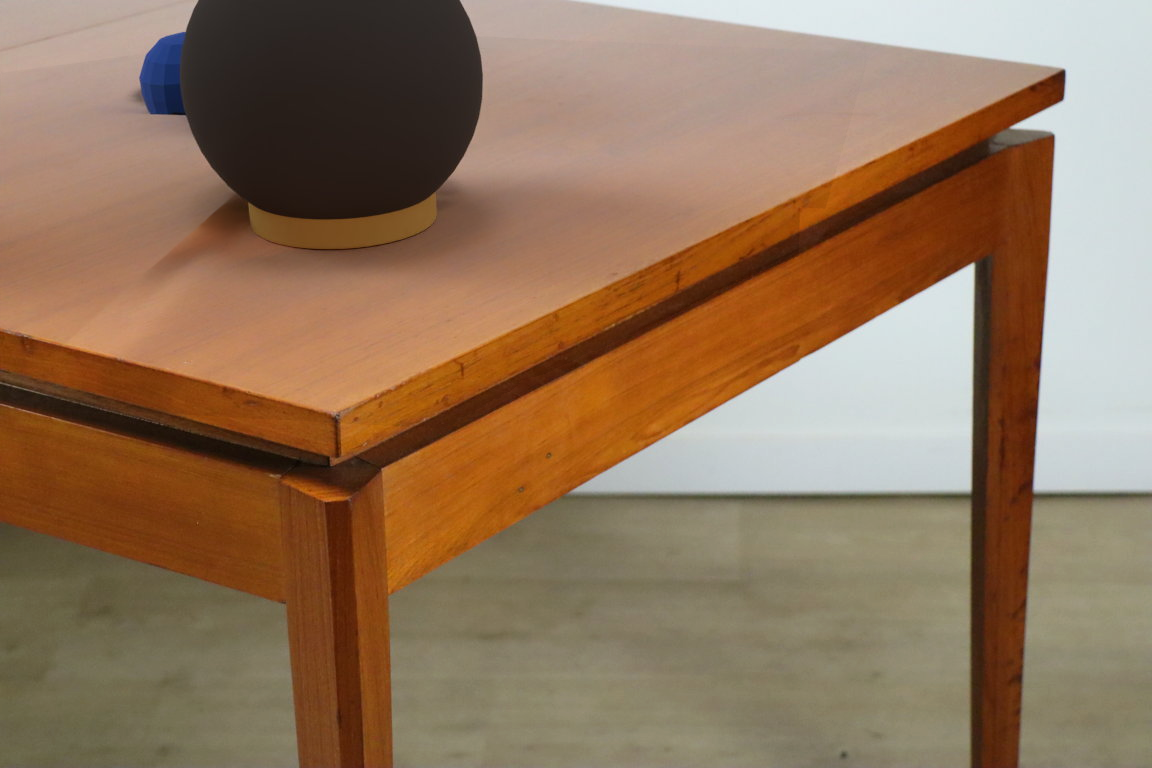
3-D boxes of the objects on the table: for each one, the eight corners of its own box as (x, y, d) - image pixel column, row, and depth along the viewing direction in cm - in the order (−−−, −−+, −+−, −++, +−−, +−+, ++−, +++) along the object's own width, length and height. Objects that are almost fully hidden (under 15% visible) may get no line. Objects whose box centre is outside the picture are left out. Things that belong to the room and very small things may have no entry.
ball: (151, 266, 69) (108, -60, 63) (254, 176, 81) (226, -102, 75) (454, 278, 67) (439, -56, 61) (511, 185, 79) (503, -100, 73)
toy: (330, 153, 86) (226, 92, 97) (324, 45, 83) (218, -6, 94) (217, 174, 83) (123, 107, 94) (206, 61, 80) (110, 6, 91)
